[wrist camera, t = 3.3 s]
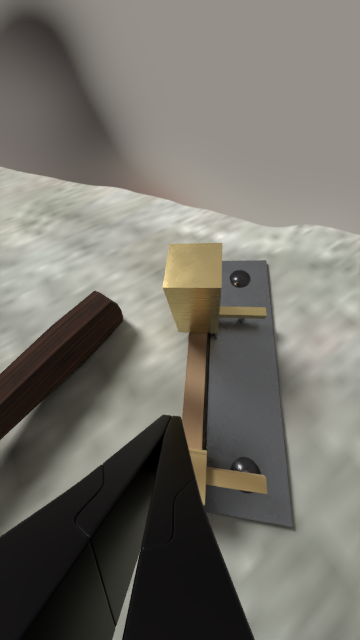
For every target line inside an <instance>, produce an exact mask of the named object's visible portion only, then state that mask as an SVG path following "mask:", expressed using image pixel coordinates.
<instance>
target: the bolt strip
mask: <svg viewBox="0 0 360 640" xmlns="http://www.w3.org/2000/svg"><path fill="white" fill-rule="evenodd" d="M220 306H225V307H266V314H267V316H266V318H265V319H249V318H245V321H244V322H240V321H238V318H219V324H218V334H214V333H211V335H210V362H209V388H208V415H207V441H206V450H207V467H211V468H218V469H225V470H232V471H239V472H242V471H243V470H248V471H249V472H250V473H253V474H260V475H264V476H265V477H266V483H267V494H263V493H256V492H250V491H244V490H237V489H231V488H225V487H218V486H212V485H206V495H205V505H204V509H205V511H206V512H211V513H217V514H223V515H228V516H234V517H239V518H245V519H251V520H256V521H262V522H267V523H273V524H279V525H284V526H290V527H293V526H292V516H291V506H290V496H289V486H288V475H287V465H286V455H285V445H284V435H283V425H282V415H281V405H280V395H279V384H278V374H277V364H276V354H275V344H274V334H273V324H272V314H271V304H270V294H269V283H268V273H267V263H266V260H264V261H222V288H221V300H220Z"/></svg>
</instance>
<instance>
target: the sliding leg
mask: <svg viewBox="0 0 360 640" xmlns="http://www.w3.org/2000/svg"><path fill="white" fill-rule="evenodd" d="M221 288H222V243H198V244H170V245H169V251H168V257H167V264H166V270H165V276H164V283H163V290H164V292H165V295H166V298H167V301H168V303H169V306H170V309H171V312H172V315H173V317H174V320H175V323H176V326H177V328H178V331H179V332H190V333H214V334H218V324H219V318H238V321H240V322H244V321H245V318H249V319H265V318H266V316H267V314H266V307H225V306H220V300H221Z"/></svg>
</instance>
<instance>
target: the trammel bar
mask: <svg viewBox="0 0 360 640" xmlns="http://www.w3.org/2000/svg"><path fill="white" fill-rule="evenodd" d="M206 351H207V333H189V345H188V357H187V369H186V381H185V393H184V405H183V417H182V423H183V427H184V432H185V436H186V440H187V444H188V448H189V452H190V456H191V460H192V464H193V469H194V473H195V477H196V480H197V484H198V488H199V492H200V496H201V499H202V503H203V505H205V495H206V485H212V486H218V487H225V488H231V489H237V490H244V491H250V492H256V493H263V494H267V483H266V477H265V476H264V475H260V474H253V473H250V472H249V471H248V470H243V471H242V472H239V471H232V470H225V469H218V468H211V467H207V450H202V440H203V417H204V395H205V373H206Z"/></svg>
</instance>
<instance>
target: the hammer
mask: <svg viewBox="0 0 360 640" xmlns="http://www.w3.org/2000/svg"><path fill="white" fill-rule="evenodd" d="M122 321H123V315H122V311H121V309H120V308H119V306H118V305H117V304H116V303H115V302H113V301H112V300H110V299H109V298H107V297H106V296H104V295H103V294H101V293H99V292H97V291H94V292H92V293H91V294H90V295H89V296H88V297H86V298H85V299H84V300H83V301H82V302H80V303H79V304H78V305H77V306H75V307H74V308H73V309H72V310H70V311H69V312H68V313H67V314H66V315H64V316H63V317H62V318H61V319H59V320H58V321H57V322H56V323H55V324H53V325H52V326H51V327H50V328H49V329H48V330H47V331H46V332H45V333H43V334H42V335H41V336H40V337H39V338H38V339H37V340H36V341H35V342H34V343H33V344H32V345H31V346H30V347H29V348H27V349H26V350H25V351H24V352H23V353H22V354H21V355H20V356H19V357H18V358H17V359H16V360H15V361H14V362H13V363H11V364H10V365H9V366H8V367H7V368H6V369H5V370H4V371H3V372H2V373H1V374H0V440H1V439H2V438H3V437H4V436H5V435H6V434H7V433H8V432H9V431H10V430H11V429H12V428H14V427H15V426H16V425H17V424H18V423H19V422H20V421H21V420H22V419H23V418H24V417H25V416H26V415H28V414H29V413H30V412H31V411H32V410H33V409H34V408H35V407H36V406H37V405H38V404H39V403H40V402H42V401H43V400H44V399H45V398H46V397H47V396H48V395H49V394H50V393H51V392H52V391H53V390H55V389H56V388H57V387H58V386H59V385H60V384H61V383H62V382H63V381H64V380H65V379H66V378H67V377H69V376H70V375H71V374H72V373H73V372H74V371H75V370H76V369H77V368H78V367H79V366H80V365H81V364H83V363H84V362H85V361H86V360H87V359H88V358H89V357H90V356H91V355H92V354H93V353H94V352H95V351H96V350H97V349H98V348H99V347H100V346H101V345H102V343H103V342H104V341H105V340H106V339H107V338H108V337H109V336H110V335H111V334H112V333H113V332H114V331H115V329H116V328H117V327H118V326H119V325H120V324H121V323H122Z"/></svg>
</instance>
